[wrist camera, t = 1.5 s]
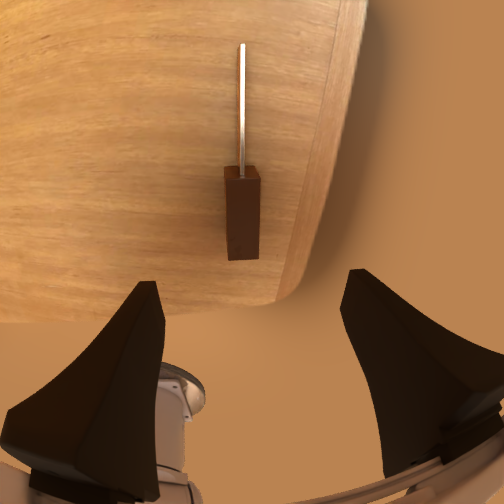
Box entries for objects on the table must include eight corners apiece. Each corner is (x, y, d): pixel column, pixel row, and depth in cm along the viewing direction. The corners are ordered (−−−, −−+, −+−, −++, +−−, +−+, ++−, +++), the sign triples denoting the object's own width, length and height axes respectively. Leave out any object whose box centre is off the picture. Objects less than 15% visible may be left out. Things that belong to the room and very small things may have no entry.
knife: (253, 239, 19) (258, 259, 17) (226, 240, 19) (228, 261, 17) (256, 48, 13) (263, 42, 11) (222, 48, 13) (223, 42, 11)
